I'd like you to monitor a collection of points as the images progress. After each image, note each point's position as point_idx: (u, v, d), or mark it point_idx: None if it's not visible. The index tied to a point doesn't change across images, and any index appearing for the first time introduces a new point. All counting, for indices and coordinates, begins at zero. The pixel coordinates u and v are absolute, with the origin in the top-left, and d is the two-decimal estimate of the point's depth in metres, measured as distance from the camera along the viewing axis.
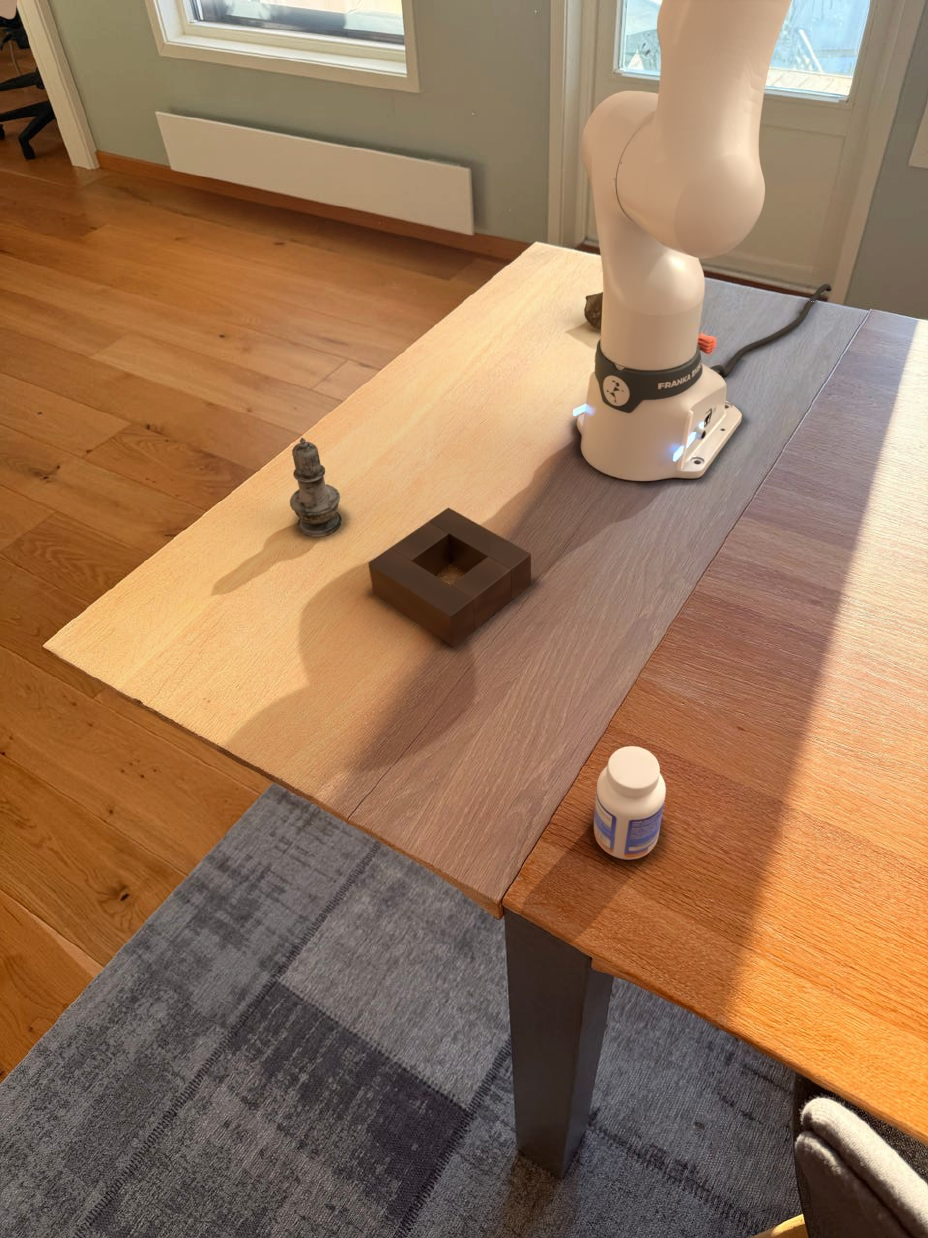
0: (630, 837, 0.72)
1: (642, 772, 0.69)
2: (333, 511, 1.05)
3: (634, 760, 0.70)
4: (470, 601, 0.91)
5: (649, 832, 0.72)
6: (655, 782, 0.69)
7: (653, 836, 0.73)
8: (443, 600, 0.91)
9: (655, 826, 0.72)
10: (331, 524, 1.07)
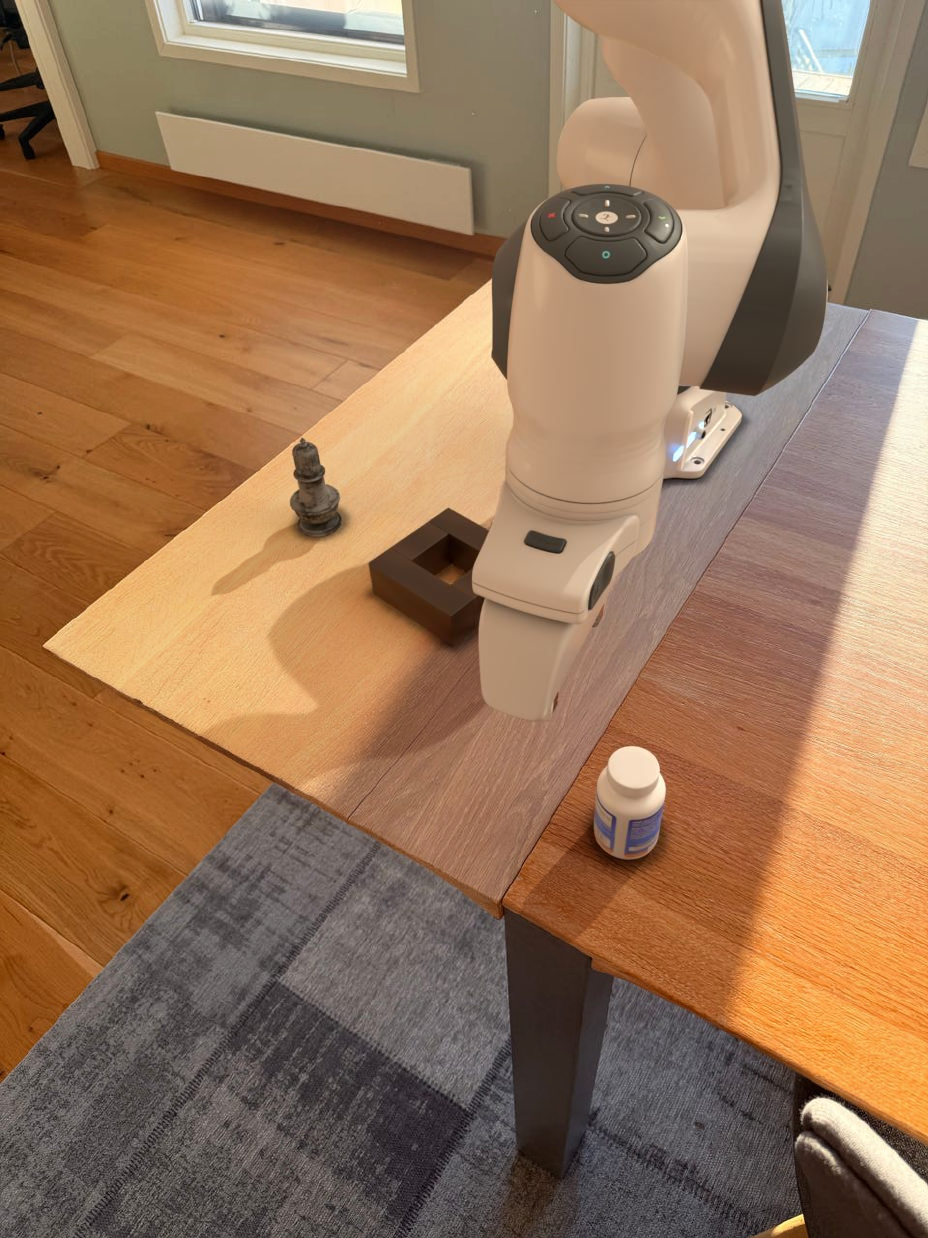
0: (630, 837, 0.72)
1: (642, 772, 0.69)
2: (333, 511, 1.05)
3: (634, 760, 0.70)
4: (470, 601, 0.91)
5: (649, 832, 0.72)
6: (655, 782, 0.69)
7: (653, 836, 0.73)
8: (443, 600, 0.91)
9: (655, 826, 0.72)
10: (331, 524, 1.07)
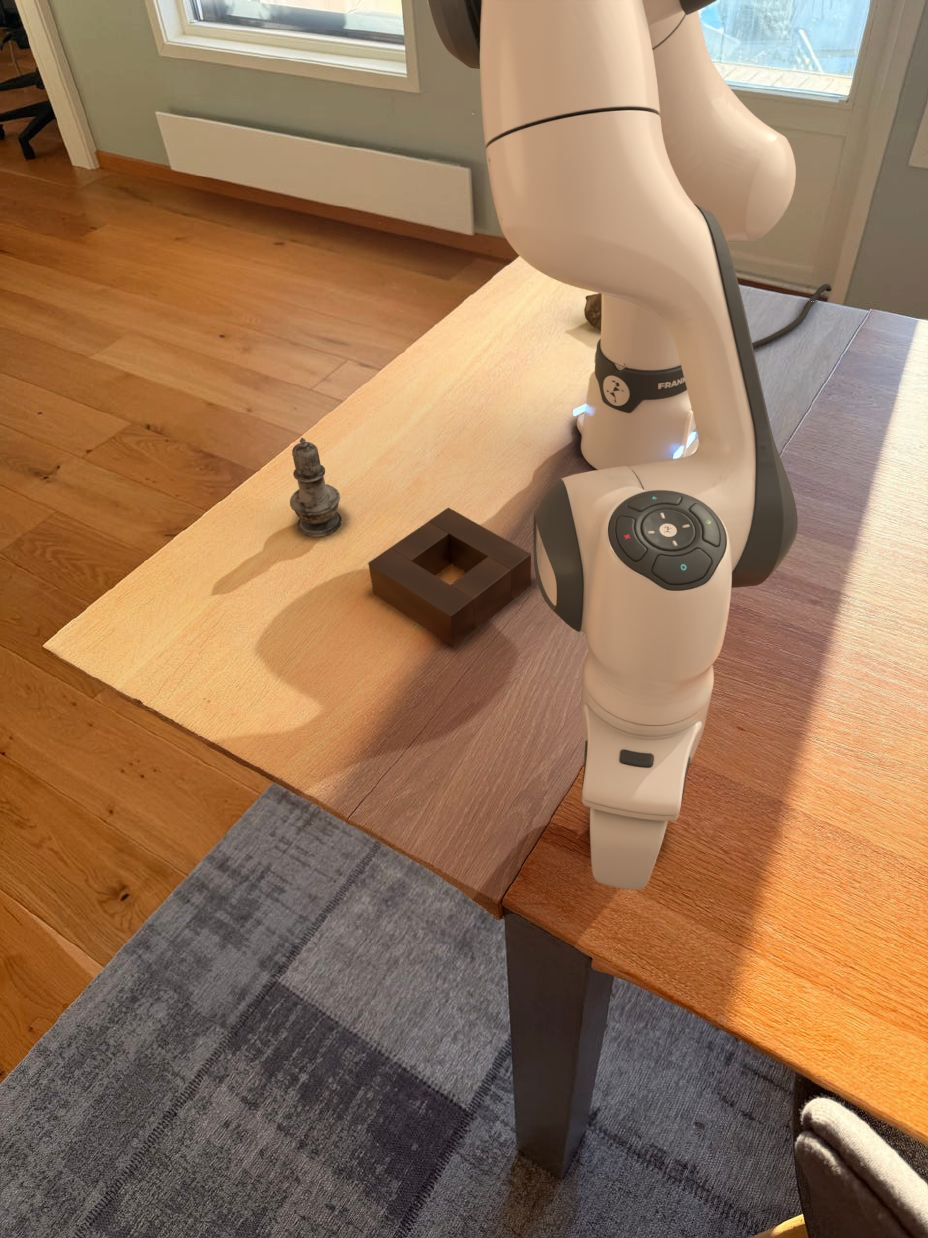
0: None
1: None
2: (333, 511, 1.05)
3: None
4: (470, 601, 0.91)
5: None
6: None
7: None
8: (443, 600, 0.91)
9: None
10: (331, 524, 1.07)
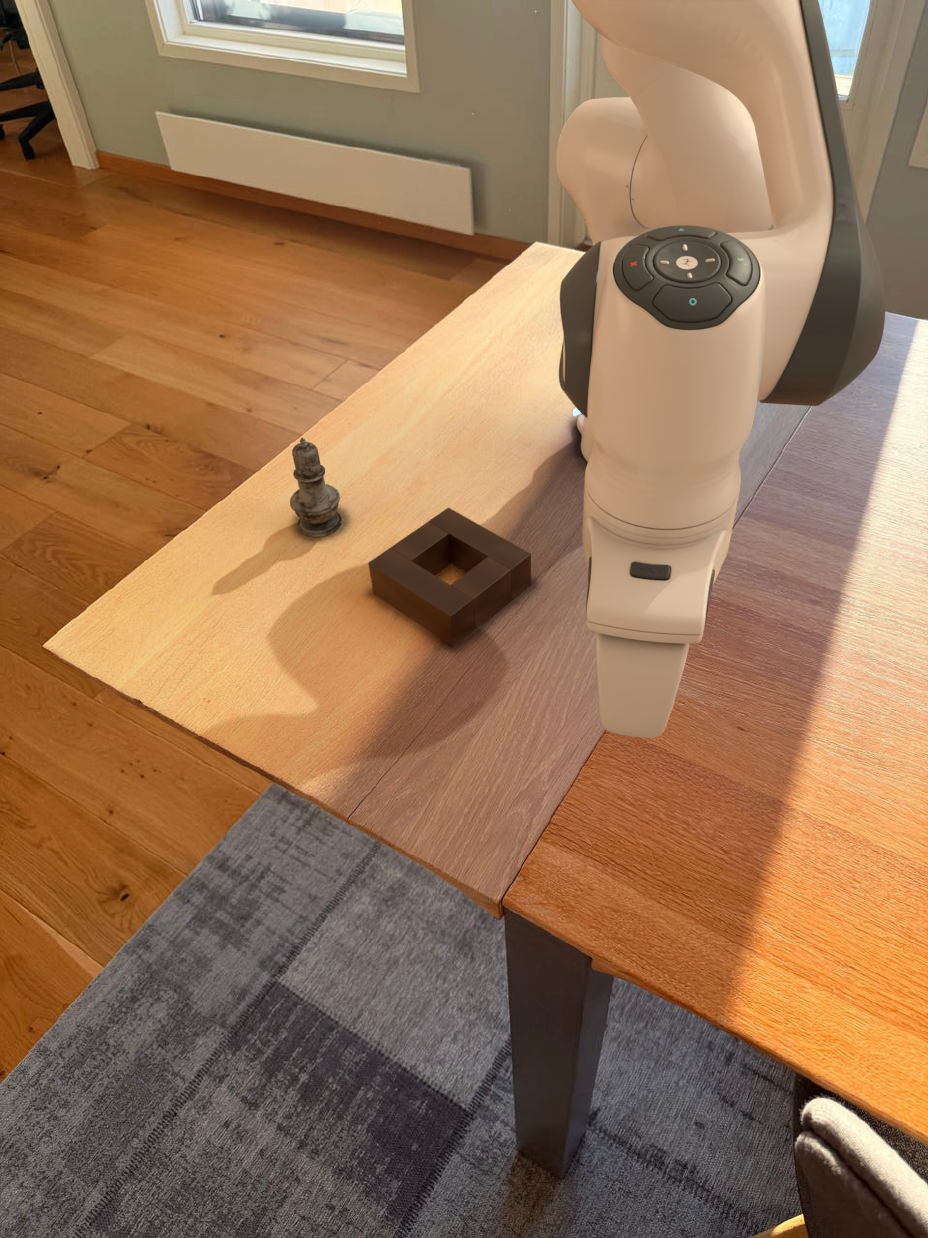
0: None
1: None
2: (333, 511, 1.05)
3: None
4: (470, 601, 0.91)
5: None
6: None
7: None
8: (443, 600, 0.91)
9: None
10: (331, 524, 1.07)
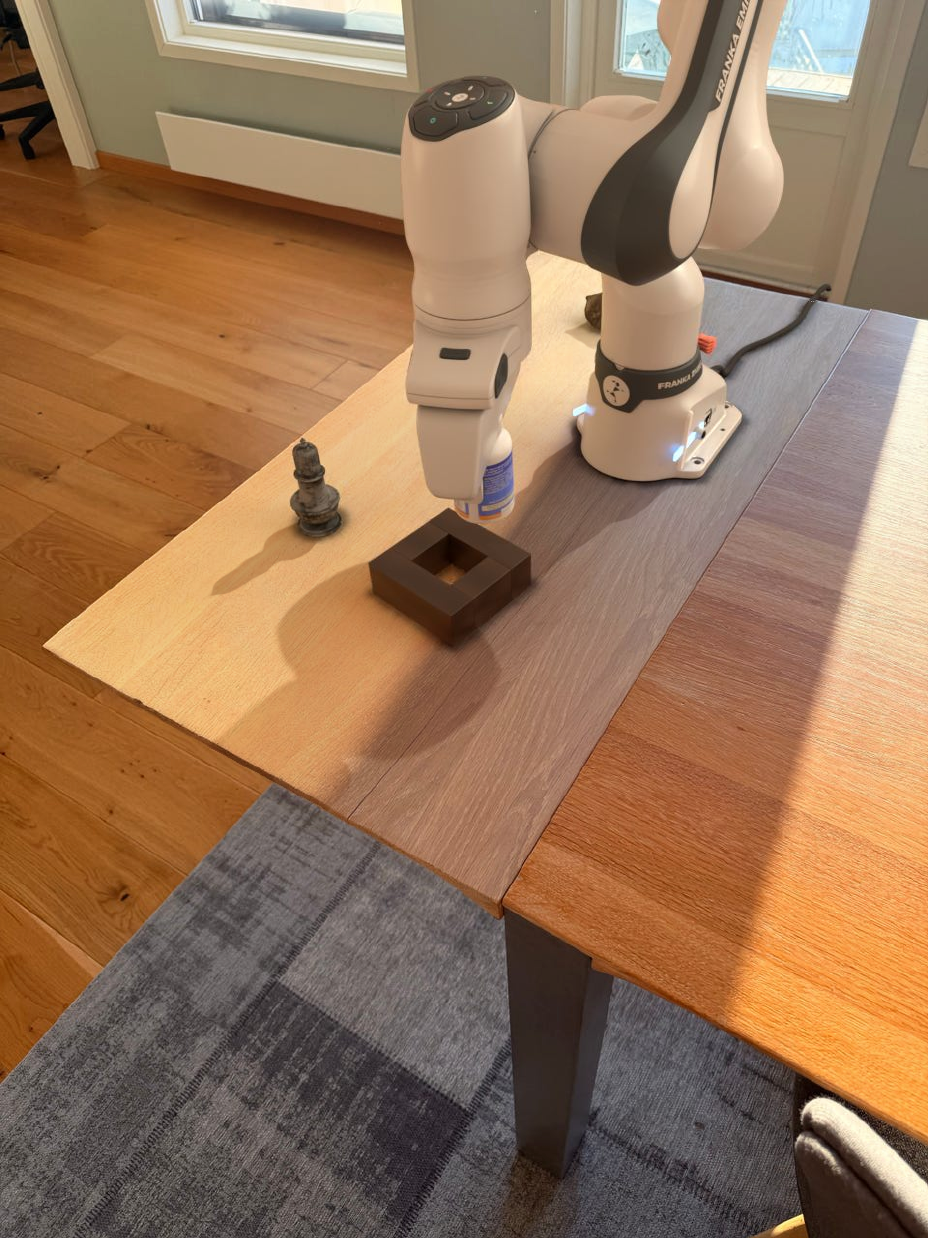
0: None
1: None
2: (333, 511, 1.05)
3: None
4: (470, 601, 0.91)
5: (498, 487, 0.77)
6: None
7: (504, 496, 0.78)
8: (443, 600, 0.91)
9: (504, 482, 0.77)
10: (331, 524, 1.07)
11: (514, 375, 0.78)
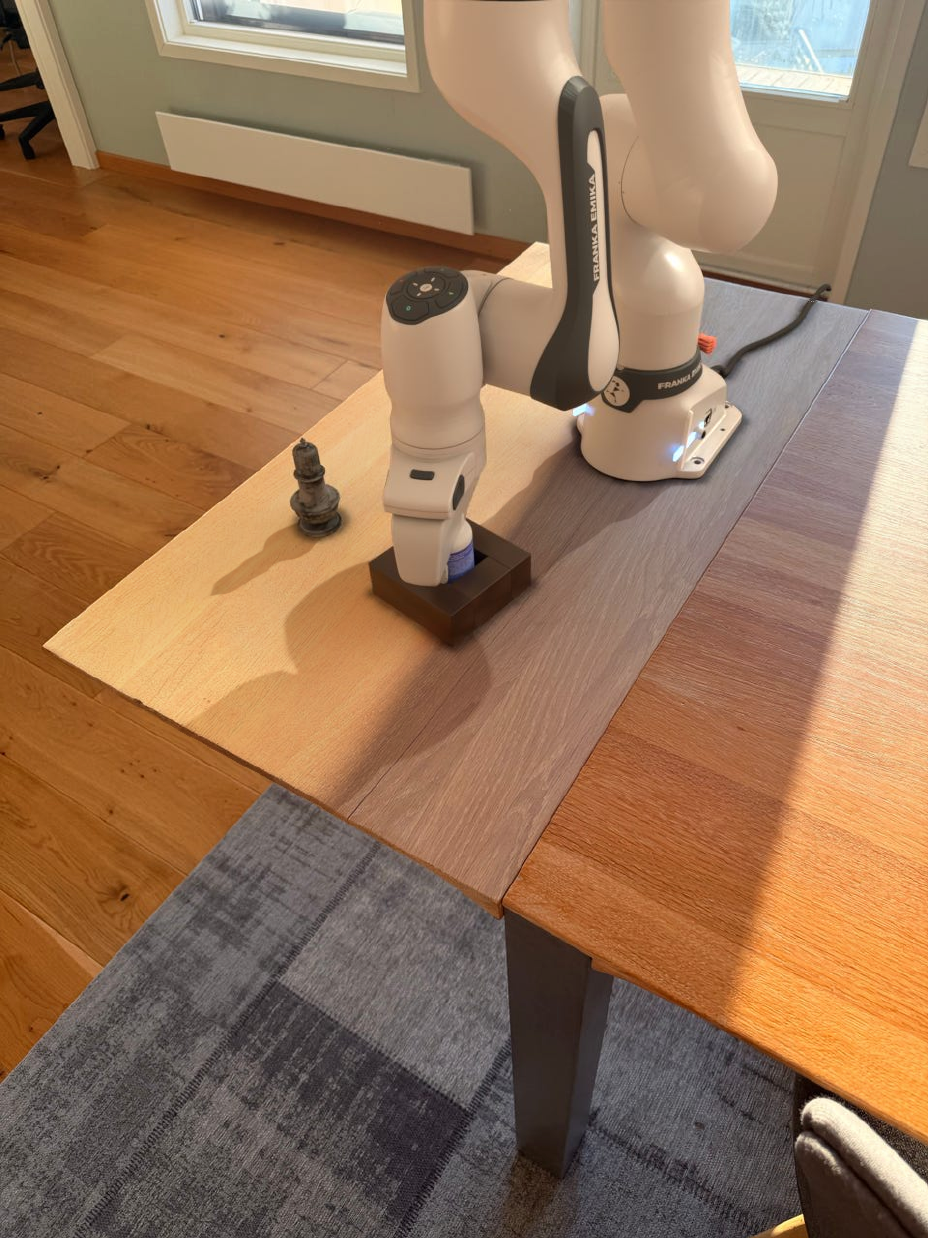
0: None
1: None
2: (333, 511, 1.05)
3: None
4: (470, 601, 0.91)
5: (460, 569, 0.94)
6: None
7: None
8: (443, 600, 0.91)
9: (465, 565, 0.94)
10: (331, 524, 1.07)
11: None
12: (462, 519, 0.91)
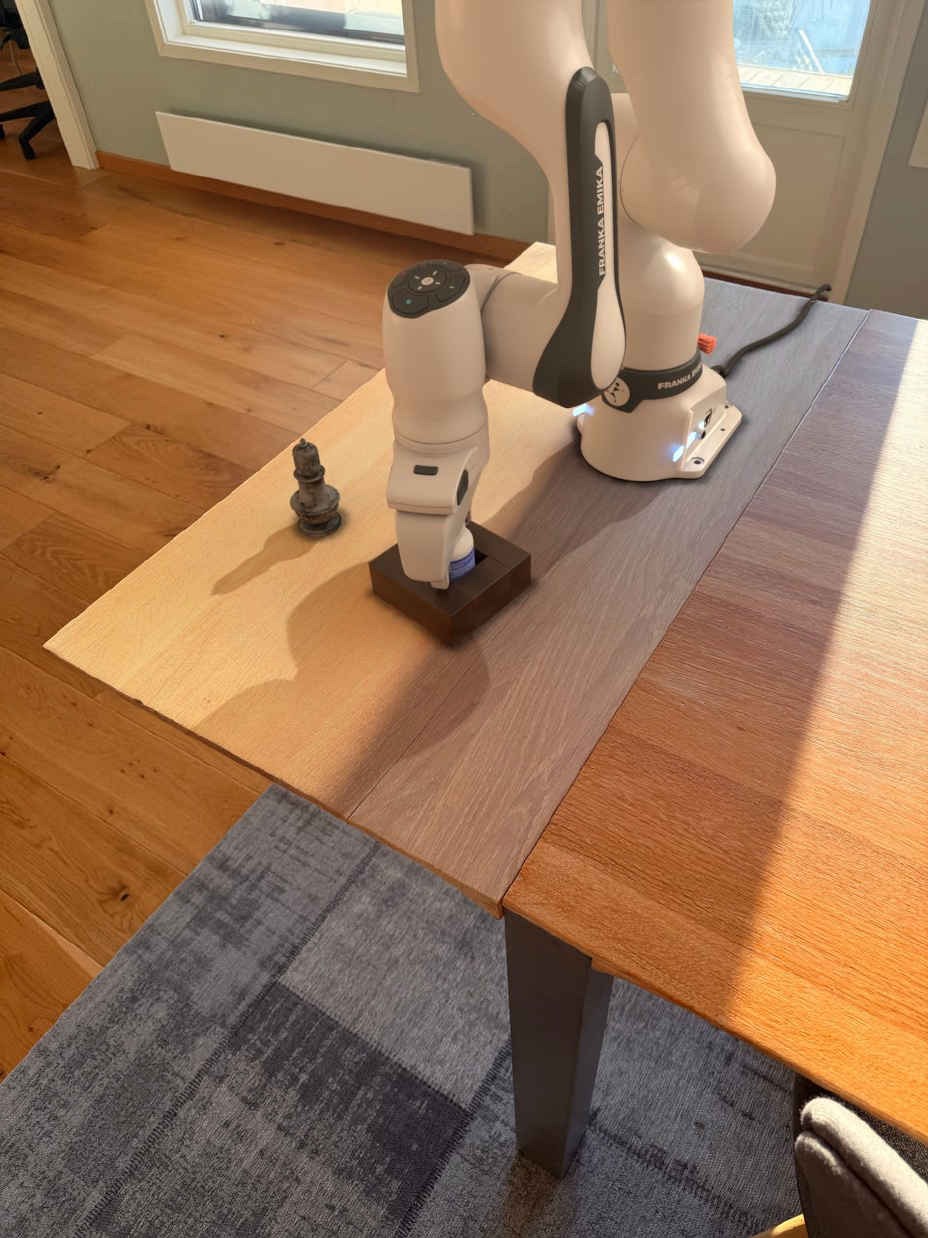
0: None
1: None
2: (333, 511, 1.05)
3: None
4: (470, 601, 0.91)
5: (459, 577, 0.94)
6: None
7: None
8: (443, 600, 0.91)
9: (464, 573, 0.94)
10: (331, 524, 1.07)
11: None
12: (462, 528, 0.91)
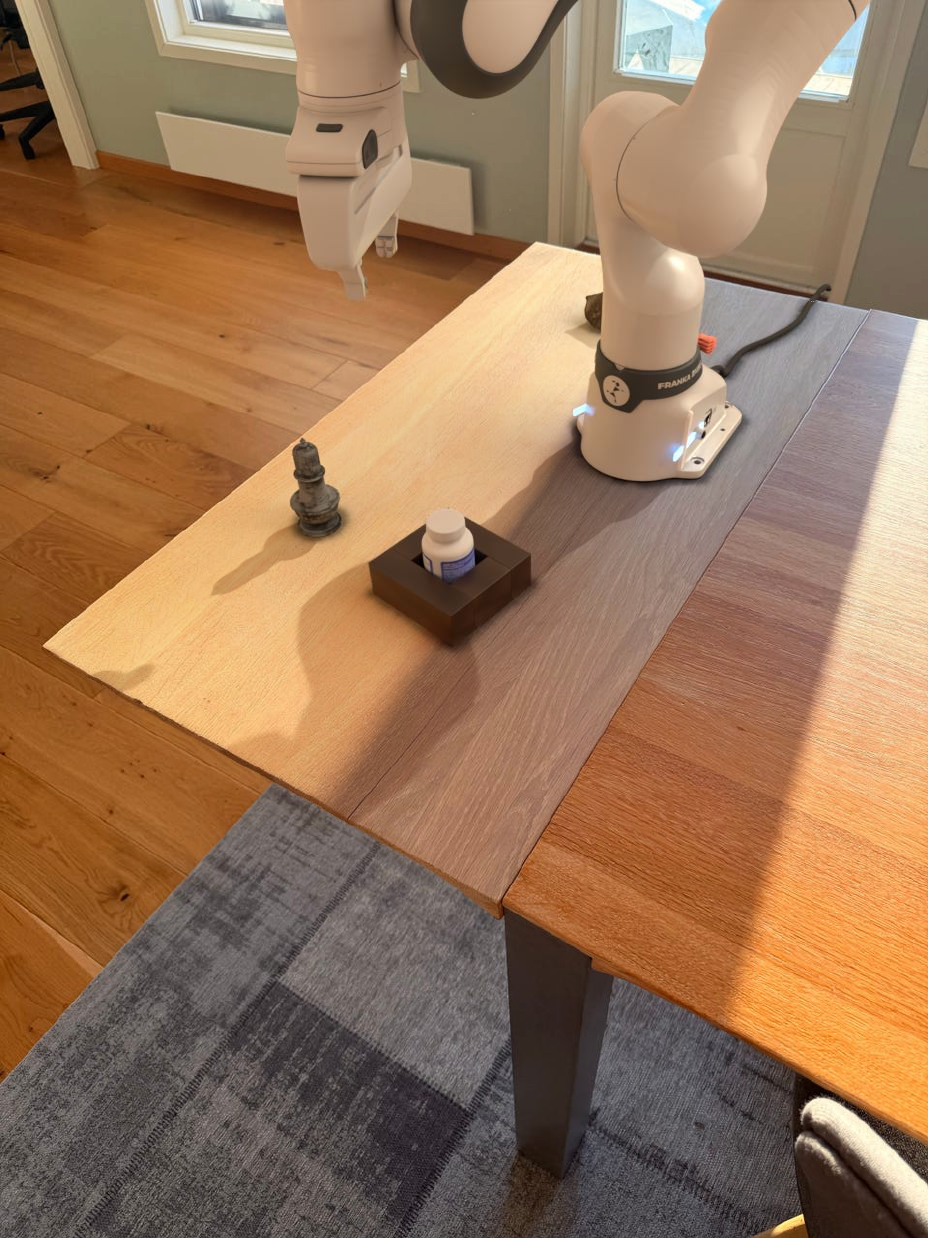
0: (444, 580, 0.94)
1: (450, 523, 0.91)
2: (333, 511, 1.05)
3: (446, 516, 0.92)
4: (470, 601, 0.91)
5: (459, 577, 0.94)
6: (458, 531, 0.91)
7: None
8: (443, 600, 0.91)
9: (464, 573, 0.94)
10: (331, 524, 1.07)
11: (402, 186, 0.87)
12: (462, 528, 0.91)
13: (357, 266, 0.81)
